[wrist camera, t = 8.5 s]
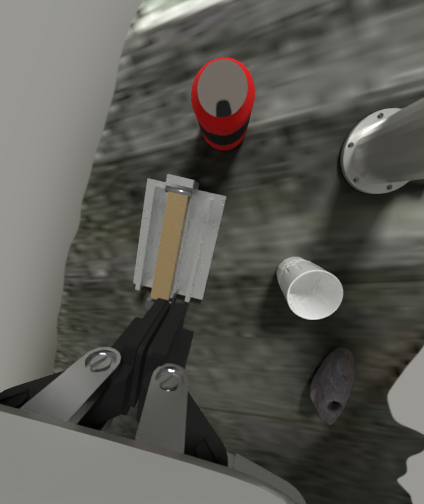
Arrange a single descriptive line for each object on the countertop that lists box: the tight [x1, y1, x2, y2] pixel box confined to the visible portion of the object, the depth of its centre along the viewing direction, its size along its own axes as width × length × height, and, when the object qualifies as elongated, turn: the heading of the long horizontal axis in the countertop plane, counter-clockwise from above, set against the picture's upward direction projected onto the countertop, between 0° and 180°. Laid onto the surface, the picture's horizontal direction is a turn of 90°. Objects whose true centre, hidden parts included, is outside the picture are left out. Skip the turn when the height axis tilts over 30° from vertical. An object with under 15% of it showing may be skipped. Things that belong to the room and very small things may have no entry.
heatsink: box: [133, 174, 226, 310], centre depth 36 cm, size 14×22×8 cm, turn 167°
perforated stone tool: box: [309, 347, 356, 425], centre depth 41 cm, size 15×5×7 cm, turn 162°
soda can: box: [191, 57, 255, 151], centre depth 29 cm, size 8×8×12 cm
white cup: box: [276, 257, 343, 320], centre depth 35 cm, size 8×8×10 cm
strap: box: [150, 185, 193, 301], centre depth 33 cm, size 4×18×1 cm, turn 167°
